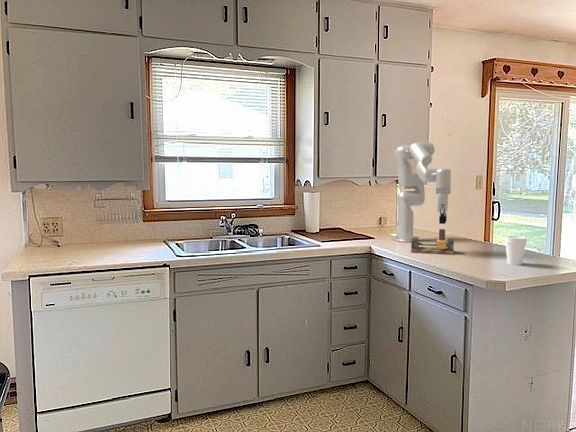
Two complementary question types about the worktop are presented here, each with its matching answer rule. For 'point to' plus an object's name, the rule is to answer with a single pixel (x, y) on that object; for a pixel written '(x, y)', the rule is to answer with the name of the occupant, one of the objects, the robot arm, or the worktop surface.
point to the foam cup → (515, 249)
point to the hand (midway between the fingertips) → (442, 222)
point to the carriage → (441, 240)
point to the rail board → (431, 250)
